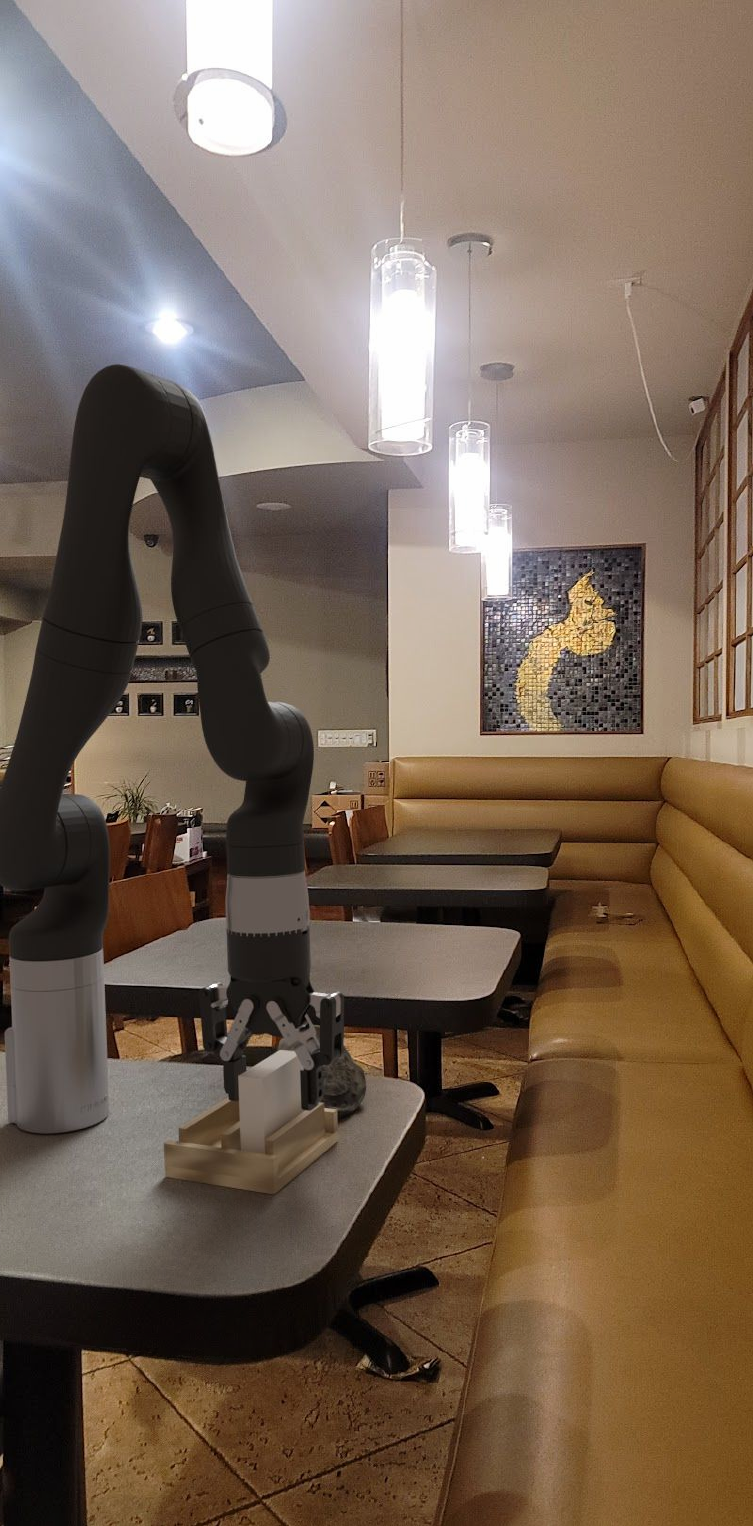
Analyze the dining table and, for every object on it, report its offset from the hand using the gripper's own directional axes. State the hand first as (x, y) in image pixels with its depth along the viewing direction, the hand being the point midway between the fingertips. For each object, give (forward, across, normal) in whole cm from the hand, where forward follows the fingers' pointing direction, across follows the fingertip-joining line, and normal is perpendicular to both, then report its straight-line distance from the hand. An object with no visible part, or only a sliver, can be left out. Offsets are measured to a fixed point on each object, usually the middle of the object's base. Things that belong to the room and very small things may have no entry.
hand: (273, 1102), depth 98 cm
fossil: (+6, -3, +14) cm, 15 cm away
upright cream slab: (+4, 0, 0) cm, 4 cm away
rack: (+5, -2, 0) cm, 6 cm away
